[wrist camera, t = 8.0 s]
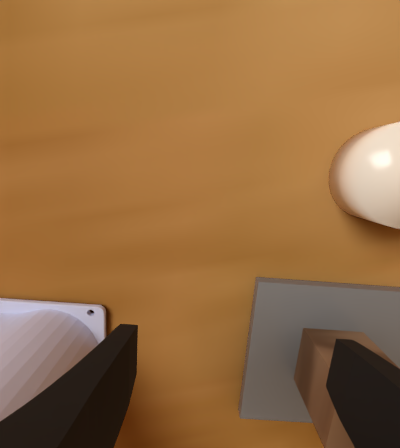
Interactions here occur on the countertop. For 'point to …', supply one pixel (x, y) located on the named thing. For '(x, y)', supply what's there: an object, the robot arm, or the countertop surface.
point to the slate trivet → (292, 332)
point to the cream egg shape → (369, 175)
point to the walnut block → (325, 380)
